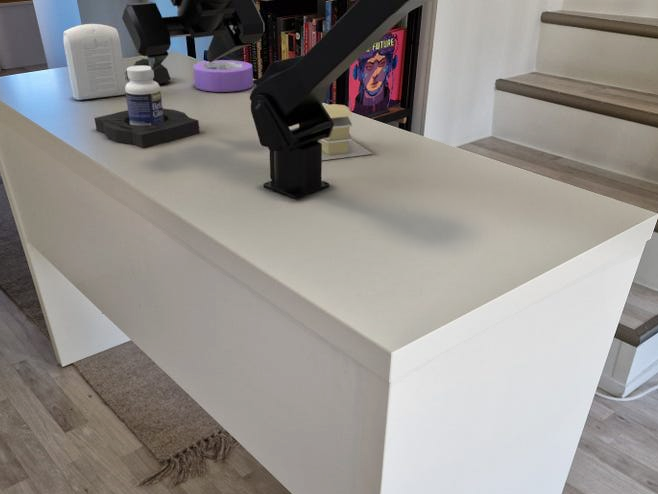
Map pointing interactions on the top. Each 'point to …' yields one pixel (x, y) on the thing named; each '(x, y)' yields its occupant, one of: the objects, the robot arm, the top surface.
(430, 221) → the top surface
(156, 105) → the pill bottle
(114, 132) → the pad
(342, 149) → the stacked layers on plate
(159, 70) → the gaming mouse
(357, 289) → the top surface
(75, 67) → the white upright block
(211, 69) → the tape roll
